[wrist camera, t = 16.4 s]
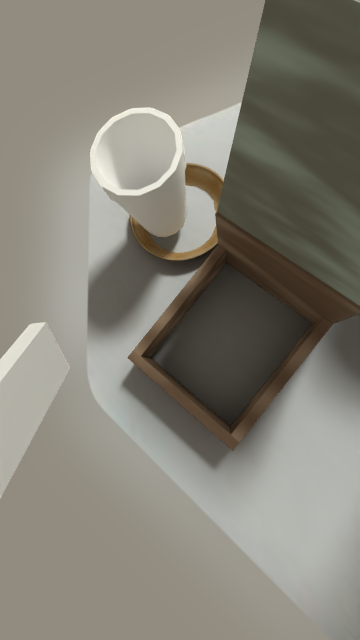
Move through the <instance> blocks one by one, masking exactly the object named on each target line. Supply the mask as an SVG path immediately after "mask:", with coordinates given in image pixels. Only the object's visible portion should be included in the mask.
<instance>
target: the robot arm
mask: <svg viewBox="0 0 360 640" xmlns="http://www.w3.org/2000/svg"><path fill="white" fill-rule="evenodd" d="M69 369H70V366H69V364H68V363H67V361H66V359H65V357H64V355H63V353H62V351H61V349H60V347H59V345H58V344H57V342H56V340H55V338H54V336H53V334H52V332H51V330H50V329H49V327H48V325H47V323H46V322H45V323H34V324H30V325H29V326H28V327H27V328H26V330H25V331H24V332H23V333H22V334H21V336H20V337H19V338H18V339H17V340H16V341H15V343H14V344H13V345H12V347H10V349H9V350H8V351H7V352H6V353H5V355H4V356H3V357H2V358H1V359H0V498H1V496H2V494H3V492H4V490H5V488H6V487H7V485H8V483H9V481H10V479H11V477H12V476H13V474H14V472H15V470H16V468H17V466H18V464H19V462H20V460H21V458H22V457H23V455H24V453H25V451H26V449H27V448H28V446H29V444H30V442H31V440H32V438H33V436H34V435H35V433H36V431H37V428H38V427H39V425H40V423H41V421H42V420H43V418H44V416H45V414H46V412H47V410H48V408H49V407H50V405H51V403H52V401H53V399H54V397H55V395H56V393H57V392H58V390H59V388H60V386H61V384H62V382H63V380H64V379H65V377H66V375H67V373H68V371H69Z"/></svg>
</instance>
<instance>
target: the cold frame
mask: <svg viewBox="0 0 360 640" xmlns="http://www.w3.org/2000/svg"><path fill="white" fill-rule="evenodd" d="M215 216H216V227H217V238H218V246H217V247H216V248H215V249H214V251H213V252H212V253H211V254H210V256H209V257H208V258H207V259H206V261H205V262H204V263H203V264H202V266H201V267H200V268H199V269H198V271H197V272H196V273H195V274H194V276H193V277H192V278H191V279H190V280H189V282H188V283H187V284H186V285H185V287H184V288H183V289H182V290H181V292H180V293H179V294H178V295H177V297H176V298H175V299H174V300H173V302H172V303H171V304H170V305H169V307H168V308H167V309H166V310H165V312H164V313H163V314H162V315H161V317H160V318H159V319H158V320H157V322H156V323H155V324H154V325H153V327H152V328H151V329H150V330H149V332H148V333H147V334H146V335H145V337H144V338H143V339H142V340H141V342H140V343H139V344H138V345H137V347H136V348H135V349H134V350H133V351H132V353H131V354H130V355H129V356H128V359H130V360H131V361H132V362H133V363H134V364H135V365H136V366H137V367H139V368H140V369H141V370H142V371H143V372H144V373H145V374H147V375H148V376H149V377H150V378H151V379H152V380H153V381H154V382H156V383H157V384H158V385H159V386H160V387H161V388H162V389H164V390H165V391H166V392H167V393H168V394H169V395H170V396H171V397H173V398H174V399H175V400H176V401H177V402H178V403H179V404H181V405H182V406H183V407H184V408H185V409H186V410H187V411H188V412H190V413H191V414H192V415H193V416H194V417H195V418H196V419H198V420H199V421H200V422H201V423H202V424H203V425H204V426H205V427H207V428H208V429H209V430H210V431H211V432H212V433H213V434H215V435H216V436H217V437H218V438H219V439H220V440H221V441H222V442H224V443H225V444H226V445H227V446H228V447H229V448H230V449H232V450H234V449H235V447H236V446H237V445H238V444H239V442H240V441H241V440H242V439H243V437H244V436H245V435H246V433H247V432H248V431H249V430H250V428H251V427H252V426H253V425H254V423H255V422H256V421H257V420H258V418H259V417H260V416H261V414H262V413H263V412H264V411H265V409H266V408H267V407H268V406H269V404H270V403H271V402H272V401H273V399H274V398H275V397H276V395H277V394H278V393H279V392H280V390H281V389H282V388H283V387H284V385H285V384H286V383H287V382H288V380H289V379H290V378H291V376H292V375H293V374H294V373H295V371H296V370H297V369H298V368H299V366H300V365H301V364H302V363H303V361H304V360H305V359H306V357H307V356H308V355H309V354H310V352H311V351H312V350H313V349H314V347H315V346H316V345H317V344H318V342H319V341H320V340H321V338H322V337H323V336H324V335H325V333H326V332H327V331H328V330H329V328H330V327H331V326H332V325H333V324H334V323H337V322H339V321H342V320H344V319H347V318H349V317H352V316H354V315H357V314H359V313H360V0H265V5H264V9H263V14H262V18H261V22H260V26H259V31H258V35H257V39H256V44H255V48H254V53H253V57H252V61H251V66H250V70H249V74H248V79H247V83H246V88H245V92H244V96H243V100H242V105H241V109H240V113H239V118H238V122H237V126H236V131H235V135H234V139H233V144H232V148H231V152H230V157H229V161H228V165H227V170H226V174H225V178H224V183H223V187H222V191H221V196H220V200H219V204H218V209H217V213H216V214H215ZM225 263H227V264H229V265H230V266H232V267H233V268H234V269H236V270H237V271H239V272H240V273H242V274H243V275H244V276H246V277H247V278H249V279H250V280H251V281H253V282H254V283H256V284H257V285H259V286H260V287H261V288H263V289H264V290H266V291H267V292H269V293H270V294H271V295H273V296H274V297H276V298H277V299H279V300H280V301H281V302H283V303H284V304H286V305H287V306H289V307H290V308H291V309H293V310H294V311H296V312H297V313H298V314H300V315H301V316H303V317H304V318H306V319H307V320H308V321H310V322H311V323H312V324H311V326H310V327H309V328H308V330H307V331H306V332H305V333H304V335H303V336H302V337H301V338H300V340H299V341H298V342H297V343H296V345H295V346H294V347H293V349H292V350H291V351H290V352H289V354H288V355H287V356H286V357H285V359H284V360H283V361H282V362H281V364H280V365H279V366H278V367H277V369H276V370H275V371H274V373H273V374H272V375H271V376H270V378H269V379H268V380H267V381H266V383H265V384H264V385H263V386H262V388H261V389H260V390H259V391H258V393H257V394H256V395H255V397H254V398H253V399H252V400H251V402H250V403H249V404H248V405H247V407H246V408H245V409H244V410H243V412H242V413H241V414H240V416H239V417H238V418H237V419H236V421H235V422H234V423H233V424H232V426H230V425H228V424H227V423H226V422H225V421H224V420H223V419H221V418H220V417H219V416H218V415H217V414H216V413H214V412H213V411H212V410H211V409H210V408H209V407H207V406H206V405H205V404H204V403H203V402H202V401H200V400H199V399H198V398H197V397H196V396H195V395H193V394H192V393H191V392H190V391H189V390H188V389H186V388H185V387H184V386H183V385H182V384H181V383H179V382H178V381H177V380H176V379H175V378H174V377H173V376H171V375H170V374H169V373H168V372H167V371H166V370H164V369H163V368H162V367H161V366H160V365H159V364H157V363H156V362H155V361H154V360H153V359H152V358H150V357H151V356H152V354H153V353H154V352H155V351H156V349H157V348H158V347H159V346H160V344H161V343H162V342H163V341H164V339H165V338H166V337H167V336H168V334H169V333H170V332H171V331H172V329H173V328H174V327H175V326H176V325H177V323H178V322H179V321H180V320H181V318H182V317H183V316H184V315H185V313H186V312H187V311H188V310H189V308H190V307H191V306H192V305H193V303H194V302H195V301H196V300H197V298H198V297H199V296H200V295H201V293H202V292H203V291H204V290H205V288H206V287H207V286H208V285H209V283H210V282H211V281H212V280H213V278H214V277H215V276H216V275H217V273H218V272H219V271H220V270H221V268H222V267H223V266H224V265H225Z"/></svg>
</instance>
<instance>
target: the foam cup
mask: <svg viewBox="0 0 360 640" xmlns="http://www.w3.org/2000/svg"><path fill="white" fill-rule="evenodd" d="M90 158H91V171H92V172H93V174H94V176H95V177H96V179H97V180H98V182H99V183H100V185H101V187H102V188H103V189H104V191H105V192H106V193H107V195H108V196H109V197H110V199H111V200H113V201H115V202H117V203H118V204H119V205H120V206H121V207H122V208H123V209H125V210H126V211H127V212H128V213H129V214H130V215H131V216H132V217H133V218H134V219H135V220H136V221H137V222H138V223H139V224H140V225H142V226H143V227H144V228H145V229H146V230H147V231H148V232H149V233H151V234H153V235H155V236H157V237H168V236H170V235H173V234H175V233H177V232H178V231H179V230H180V229H181V228H182V227H183V225H184V222H185V219H186V189H185V169H186V158H185V150H184V144H183V140H182V135H181V130H180V129H179V128H178V126H177V125H176V124H175V122H174V121H173V120H172V118H171V117H170V116H169V115H167V114H165V113H163V112H161V111H158V110H156V109H154V108H131V109H129V110H127V111H125V112H122V113H120V114H118V115H116V116H114V117H112V118H111V119H110V120H109V121H108V122H107V123H106V124H105V125H104V126H103V127H102V129H100V131H99V132H98V133H97V135H96V138H95V140H94V143H93V145H92V148H91V150H90Z"/></svg>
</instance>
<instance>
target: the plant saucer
mask: <svg viewBox="0 0 360 640" xmlns="http://www.w3.org/2000/svg"><path fill="white" fill-rule="evenodd" d="M223 183H224V180H223V179H222V178H221V177H220V176H219V175H218V174H217V173H216V172H215V171H213V170H211V169H210V168H207V167H205V166H202V165H199V164H194V163H186V169H185V185H188V186H196V187H199V188H201V189H203V190H204V191H206V192H207V193H208V194H209V195H210V197H211V198H212V199H213V201H214V207H215V210H216V213H217V209H218V204H219V200H220V196H221V191H222V187H223ZM130 222H131V228H132V231H133V234H134V236H135V238H136V239H137V241H138V242H139V244H140V245H141V246H142V247H143V248H144V249H145V250H147V251H148V252H149V253H151V254H153V255H154V256H157V257H159V258H162V259H166V260H175V261H179V260H187V259H191V258H195V257H197V256H200V255H202V254H204V253H206V252H207V251H209V250H210V249H212V248H213V247H214V246H215V245H216V244H217V243H218V238H217V227H215V229H214V232H213V235H212V236H211V237H210V239H209V240H208V241H207V242H206V243H205V244H204V245H202V246H201V247H199V248H197V249H195V250H192V251H189V252H184V253H175V252H170V251H167V250H164V249H162V248H161V247H159V246H158V245H157V244H156V243H155V242H154V241H153V240H152V238H151V236H150V234H149V232H148V231H147V230H146V229H145V228H144V227H143V226H142V225H140V224H139V223H138V222H137V221H136V220H135V219H134V218H133V217H132V216H131V215H130Z"/></svg>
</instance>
